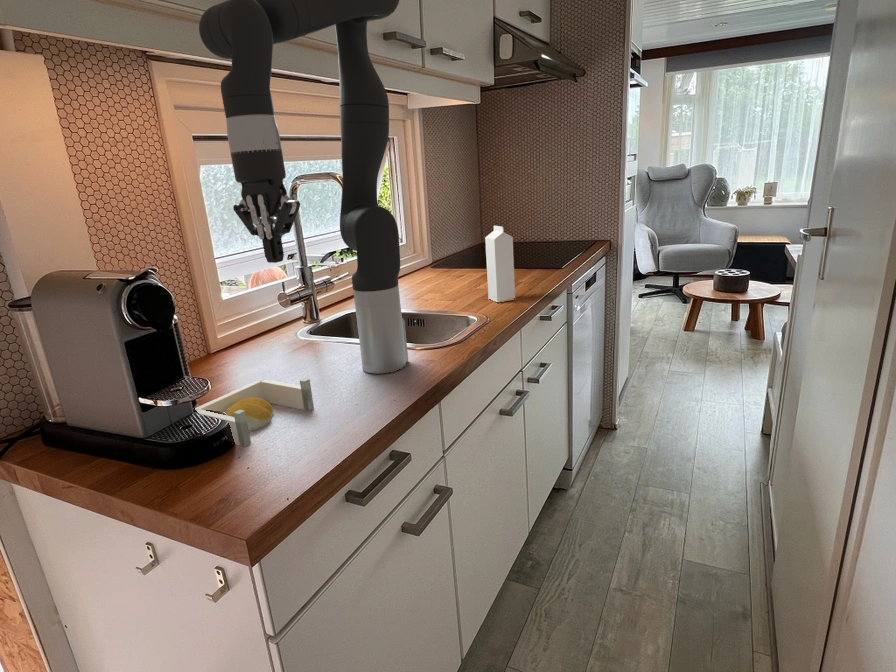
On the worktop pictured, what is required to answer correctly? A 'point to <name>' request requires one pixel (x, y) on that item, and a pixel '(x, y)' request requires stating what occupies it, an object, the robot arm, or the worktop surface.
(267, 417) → the bread roll
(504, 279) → the milk
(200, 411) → the holder
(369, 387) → the worktop surface
